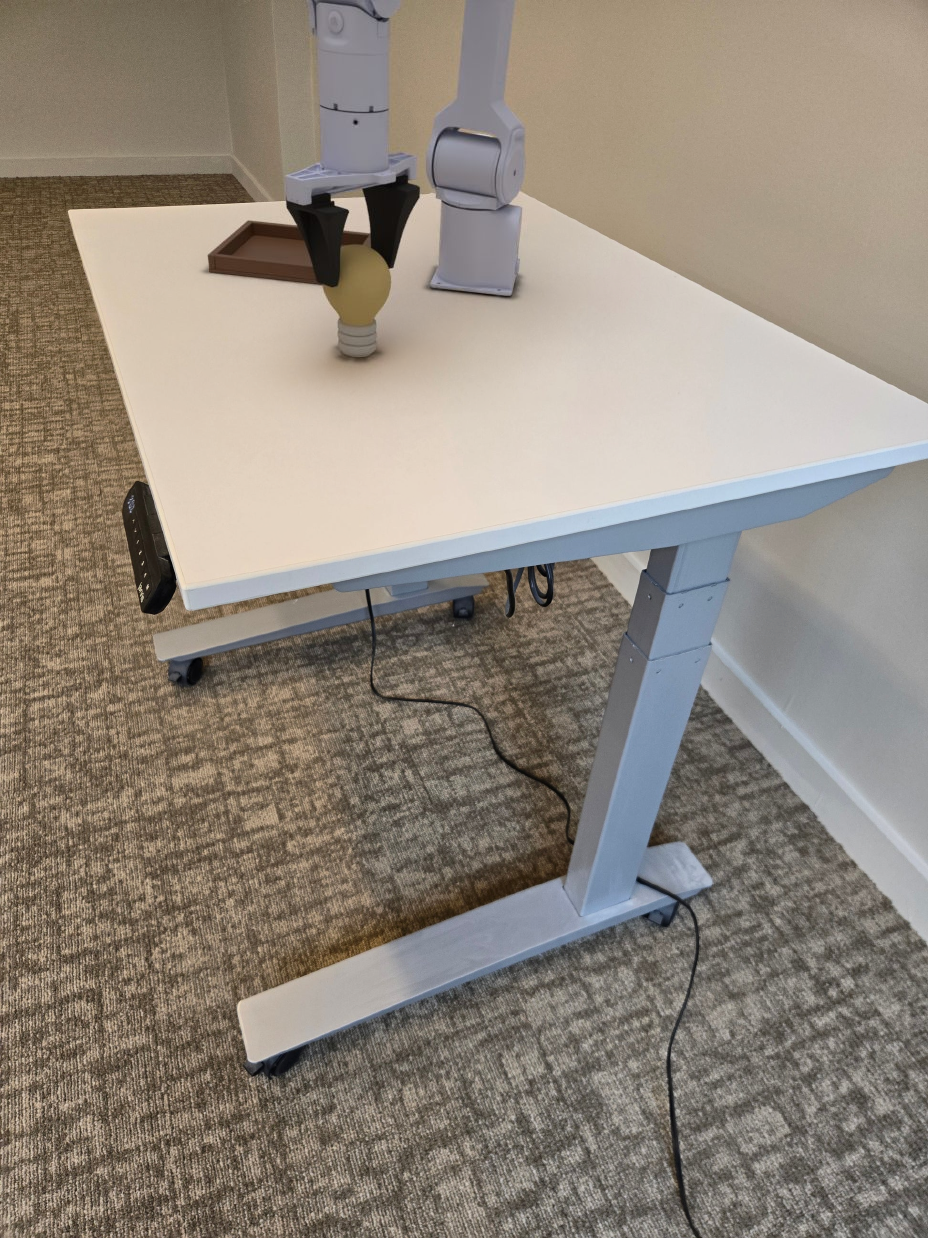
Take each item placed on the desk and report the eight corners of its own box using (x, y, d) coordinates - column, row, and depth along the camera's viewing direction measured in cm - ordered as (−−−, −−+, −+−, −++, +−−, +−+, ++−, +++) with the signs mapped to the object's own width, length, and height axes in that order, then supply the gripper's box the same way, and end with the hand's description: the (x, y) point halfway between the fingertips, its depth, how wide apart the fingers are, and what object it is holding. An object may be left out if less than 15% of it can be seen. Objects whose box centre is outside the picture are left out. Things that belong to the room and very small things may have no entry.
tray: (376, 249, 110) (376, 233, 109) (350, 287, 99) (350, 270, 98) (249, 235, 111) (247, 219, 110) (209, 271, 100) (207, 254, 99)
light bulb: (316, 342, 86) (312, 237, 80) (377, 336, 88) (378, 233, 82) (335, 369, 82) (332, 259, 75) (399, 361, 84) (401, 254, 78)
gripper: (327, 124, 65) (332, 304, 74) (446, 105, 75) (438, 268, 83) (262, 108, 68) (274, 283, 77) (384, 92, 78) (383, 250, 86)
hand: (356, 274), depth 80 cm, fingers open, 7 cm apart
